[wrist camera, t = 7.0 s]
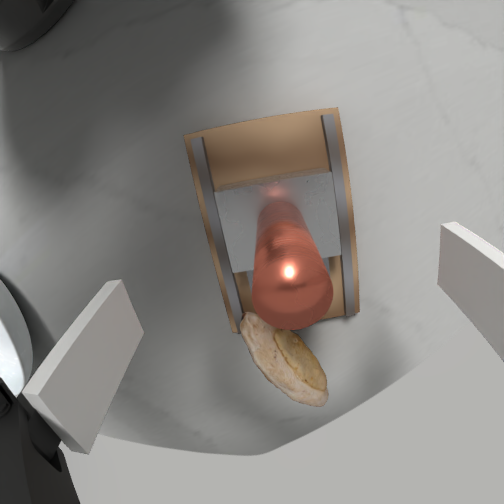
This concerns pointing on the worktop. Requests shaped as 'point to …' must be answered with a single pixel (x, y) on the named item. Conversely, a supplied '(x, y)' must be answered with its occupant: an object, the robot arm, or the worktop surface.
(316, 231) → the copper peg on base
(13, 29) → the robot arm
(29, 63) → the worktop surface
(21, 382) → the serving bowl
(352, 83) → the worktop surface
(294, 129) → the railed wooden base plate
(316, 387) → the tan elongated oval piece
